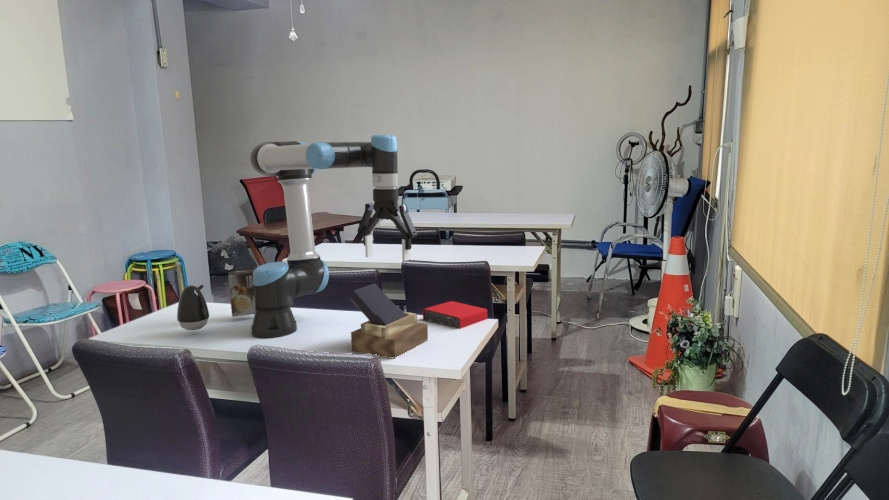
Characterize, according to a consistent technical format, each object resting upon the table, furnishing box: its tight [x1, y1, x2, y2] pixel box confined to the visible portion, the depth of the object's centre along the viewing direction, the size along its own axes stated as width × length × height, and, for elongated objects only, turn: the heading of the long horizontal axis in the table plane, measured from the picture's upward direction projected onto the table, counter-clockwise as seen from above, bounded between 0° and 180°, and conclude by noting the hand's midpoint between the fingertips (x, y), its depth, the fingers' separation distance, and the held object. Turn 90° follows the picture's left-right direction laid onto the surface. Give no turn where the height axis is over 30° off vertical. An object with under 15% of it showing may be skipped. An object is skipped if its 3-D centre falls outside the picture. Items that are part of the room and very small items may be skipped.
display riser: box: [350, 311, 429, 359], centre depth 183 cm, size 16×18×9 cm
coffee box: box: [227, 269, 255, 318], centre depth 222 cm, size 9×6×16 cm
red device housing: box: [422, 300, 488, 330], centre depth 209 cm, size 18×14×5 cm
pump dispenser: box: [176, 284, 210, 331], centre depth 205 cm, size 10×10×15 cm
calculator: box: [349, 283, 406, 326], centre depth 183 cm, size 11×4×15 cm
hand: (387, 258), depth 180 cm, fingers open, 13 cm apart
